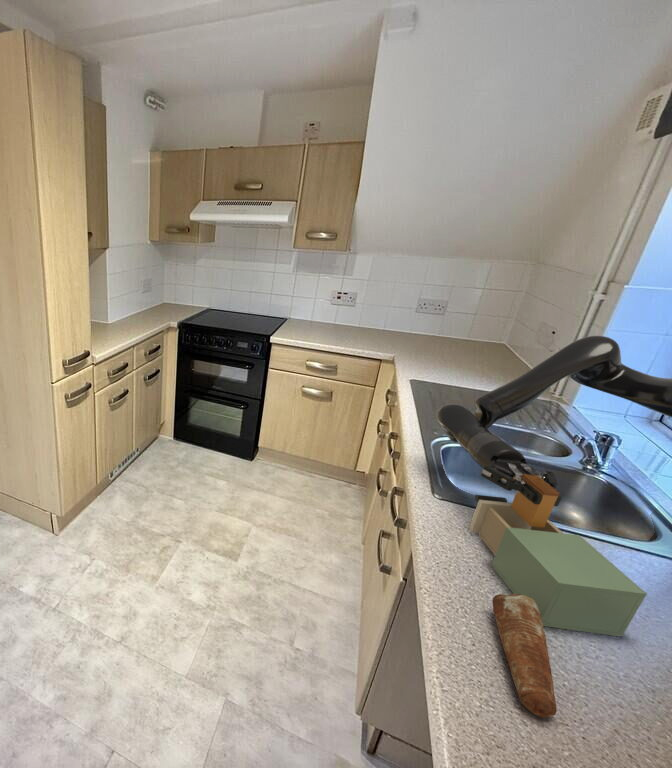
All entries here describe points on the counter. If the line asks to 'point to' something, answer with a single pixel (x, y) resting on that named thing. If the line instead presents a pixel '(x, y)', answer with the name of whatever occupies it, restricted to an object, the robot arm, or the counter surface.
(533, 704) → the bread
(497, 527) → the drawer
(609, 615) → the cabinet
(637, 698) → the counter surface
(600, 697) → the counter surface
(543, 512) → the brown block
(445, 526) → the counter surface
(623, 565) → the counter surface
